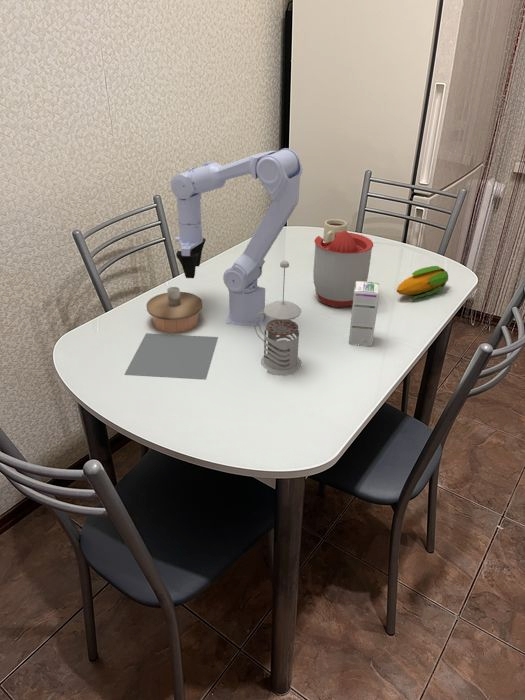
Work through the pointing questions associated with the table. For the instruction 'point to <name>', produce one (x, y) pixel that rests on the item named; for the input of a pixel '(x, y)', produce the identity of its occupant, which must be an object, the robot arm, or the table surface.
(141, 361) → the mat
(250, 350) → the table surface
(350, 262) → the citrus juicer
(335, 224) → the character mug
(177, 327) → the bowl
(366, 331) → the syrup box
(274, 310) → the french press
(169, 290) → the lid
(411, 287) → the corn
